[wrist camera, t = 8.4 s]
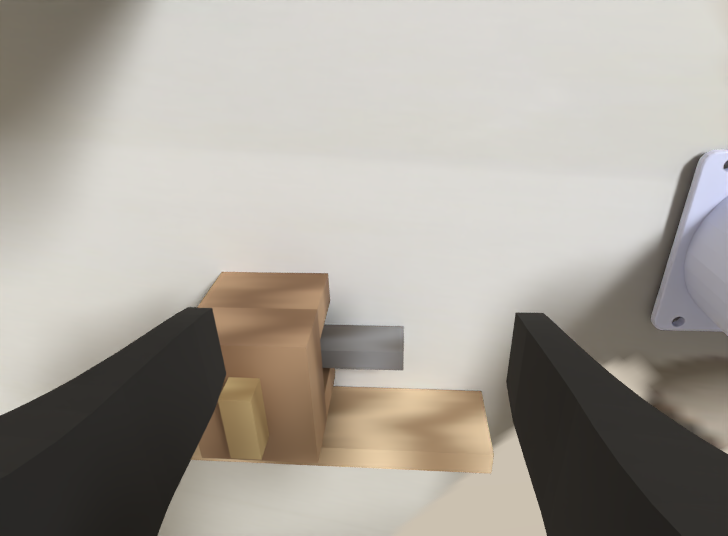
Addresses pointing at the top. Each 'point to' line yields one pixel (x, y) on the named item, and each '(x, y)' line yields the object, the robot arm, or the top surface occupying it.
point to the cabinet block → (270, 367)
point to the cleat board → (394, 413)
